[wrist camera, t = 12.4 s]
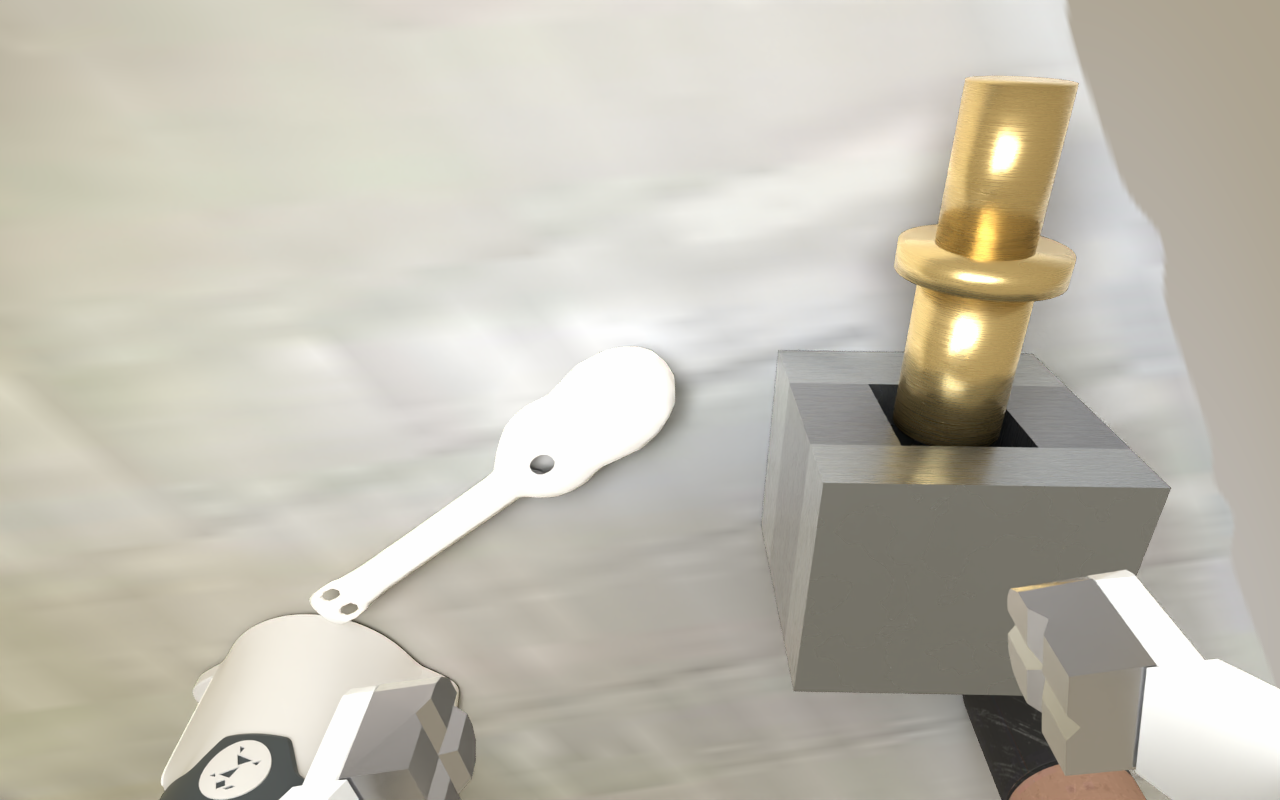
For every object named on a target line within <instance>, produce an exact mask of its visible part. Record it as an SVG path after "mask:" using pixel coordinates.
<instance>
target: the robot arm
mask: <svg viewBox="0 0 1280 800" xmlns="http://www.w3.org/2000/svg"><path fill="white" fill-rule="evenodd" d="M1007 610H1008V612H1009V614H1010V616H1011V617H1012V619H1013V621H1014V623H1015V626H1014V627H1013V628H1012V629H1011V631H1010V632H1009V633H1008V650H1009V656H1010V660H1011V665H1012V669H1013V673H1014V675H1015V678H1016V681H1017V683H1018V686H1019V688H1020V690H1021V692H1022V694H1023V696H1024V698H1025V700H1026V702H1027V704H1029V705H1030V706H1032V707H1034V708H1035V709H1037V710H1038V711H1040V712H1041V713H1042V733H1043V735H1044V737H1045V739H1046V741H1047V743H1048V744H1049V746H1050V748H1051V750H1052V752H1053V754H1054V756H1055V758H1056V760H1057V761H1058V763H1059V765H1060V767H1061V769H1062V771H1063V773H1064V775H1065V776H1070V775H1081V774H1091V773H1101V772H1112V771H1122V770H1133V769H1136V773H1137V774H1138V775H1139V776H1141V777H1142V778H1143V779H1144V780H1146V781H1147V782H1148V783H1150V784H1151V785H1152V786H1154V787H1155V788H1156V789H1158V790H1159V791H1160V792H1162V793H1163V794H1164V795H1165V796H1167V797H1168V798H1169V799H1171V800H1280V689H1279V688H1277V687H1275V686H1273V685H1271V684H1269V683H1267V682H1265V681H1263V680H1261V679H1259V678H1257V677H1254V676H1252V675H1250V674H1248V673H1246V672H1244V671H1242V670H1240V669H1238V668H1236V667H1234V666H1232V665H1230V664H1228V663H1226V662H1224V661H1222V660H1220V659H1211V660H1205V659H1204V658H1203V657H1202V655H1201V654H1200V653H1199V652H1198V651H1197V649H1196V648H1195V647H1194V646H1193V645H1192V643H1191V642H1190V641H1189V640H1188V639H1187V637H1186V636H1185V635H1184V634H1183V632H1182V631H1181V630H1180V629H1179V628H1178V626H1177V625H1176V624H1175V623H1174V622H1173V620H1172V619H1171V618H1170V617H1169V616H1168V614H1167V613H1166V612H1165V611H1164V610H1163V608H1162V607H1161V606H1160V605H1159V604H1158V602H1157V601H1156V600H1155V599H1154V598H1153V596H1152V595H1151V594H1150V593H1149V591H1148V590H1147V589H1146V588H1145V587H1144V585H1143V584H1142V583H1141V582H1140V581H1139V579H1138V578H1137V577H1136V576H1135V575H1134V574H1133V573H1131V572H1129V571H1128V570H1120V571H1114V572H1108V573H1102V574H1096V575H1090V576H1086V577H1078V578H1072V579H1065V580H1059V581H1053V582H1047V583H1041V584H1035V585H1029V586H1023V587H1017V588H1011V589H1010V591H1009V593H1008V599H1007ZM193 696H194V698H195V699H196V701H197V703H198V705H197V707H196V709H195V711H194V713H193V715H192V717H191V719H190V721H189V722H188V724H187V726H186V728H185V730H184V732H183V734H182V736H181V738H180V740H179V742H178V744H177V746H176V748H175V750H174V752H173V753H172V755H171V757H170V759H169V761H168V763H167V765H166V767H165V769H164V771H163V774H162V777H161V785H162V786H163V788H164V793H163V795H162V796H161V798H160V800H461V799H460V797H459V795H458V794H459V793H460V792H461V791H462V790H463V788H464V787H465V786H466V785H467V784H468V783H469V781H470V780H471V779H472V775H473V770H474V766H475V761H476V739H475V735H474V730H473V726H472V723H471V721H470V719H469V717H468V715H467V713H465V712H464V711H462V710H461V709H459V708H457V705H458V697H459V689H458V686H457V685H456V684H455V683H454V682H453V681H452V680H450V679H449V678H447V677H445V676H443V675H441V674H438V673H436V672H434V671H432V670H430V669H427V668H425V667H423V666H421V665H420V664H419V663H417V662H416V661H415V660H414V659H413V658H411V657H410V656H409V655H408V654H407V653H406V652H405V651H404V650H403V649H402V648H400V647H399V646H398V645H397V644H395V643H394V642H393V641H391V640H390V639H388V638H387V637H385V636H383V635H382V634H380V633H378V632H376V631H374V630H372V629H370V628H368V627H365V626H363V625H360V624H358V623H355V622H352V621H349V622H347V623H344V624H336V623H333V622H331V621H329V620H327V619H326V618H324V617H322V616H321V615H312V614H299V615H288V616H282V617H277V618H273V619H270V620H267V621H264V622H262V623H259V624H257V625H255V626H254V627H252V628H250V629H249V630H247V631H246V632H245V633H243V634H242V635H241V636H240V637H239V638H238V639H237V641H236V642H235V643H234V645H233V646H232V648H231V650H230V651H229V653H228V655H227V657H226V658H225V659H224V661H223V662H222V663H220V664H218V665H216V666H214V667H213V668H211V669H209V670H207V671H206V672H204V673H203V674H202V675H201V676H200V677H199V678H198V680H197V682H196V684H195V686H194V688H193Z"/></svg>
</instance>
